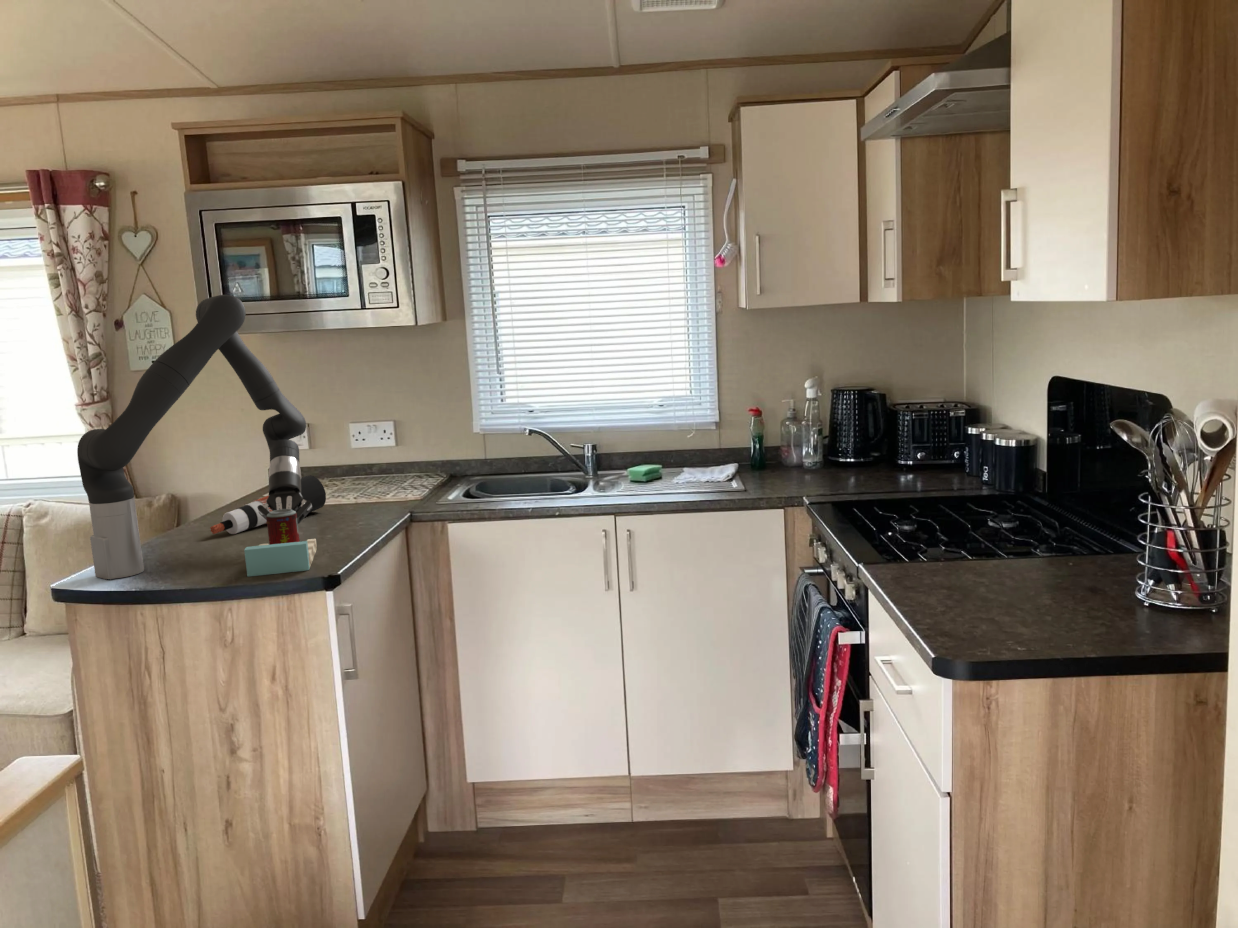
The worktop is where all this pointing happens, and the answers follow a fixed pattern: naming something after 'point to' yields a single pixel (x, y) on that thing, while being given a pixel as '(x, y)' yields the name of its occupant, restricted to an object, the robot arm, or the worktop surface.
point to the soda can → (282, 526)
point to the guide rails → (311, 549)
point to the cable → (250, 514)
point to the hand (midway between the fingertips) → (285, 538)
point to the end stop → (277, 558)
